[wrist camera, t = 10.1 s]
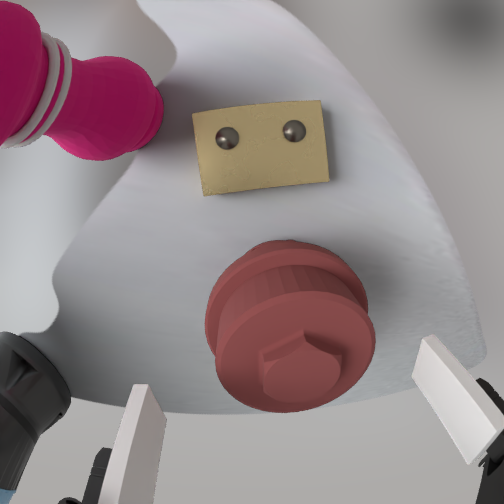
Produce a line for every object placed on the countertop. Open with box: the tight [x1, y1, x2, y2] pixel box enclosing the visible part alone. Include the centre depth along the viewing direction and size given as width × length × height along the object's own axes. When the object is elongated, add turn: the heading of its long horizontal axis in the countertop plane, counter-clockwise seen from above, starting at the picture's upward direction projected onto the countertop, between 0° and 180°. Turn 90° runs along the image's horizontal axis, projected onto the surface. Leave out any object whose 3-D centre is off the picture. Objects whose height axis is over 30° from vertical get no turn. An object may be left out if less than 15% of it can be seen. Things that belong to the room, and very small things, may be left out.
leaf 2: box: [192, 100, 329, 196], centre depth 19 cm, size 9×6×2 cm, turn 97°
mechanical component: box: [205, 240, 376, 413], centre depth 18 cm, size 12×10×10 cm
